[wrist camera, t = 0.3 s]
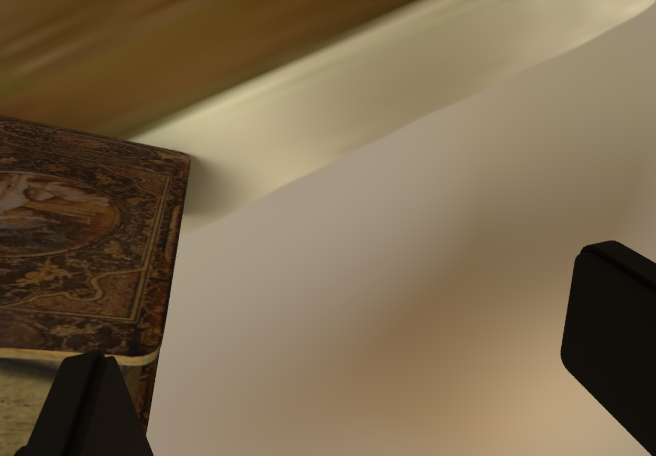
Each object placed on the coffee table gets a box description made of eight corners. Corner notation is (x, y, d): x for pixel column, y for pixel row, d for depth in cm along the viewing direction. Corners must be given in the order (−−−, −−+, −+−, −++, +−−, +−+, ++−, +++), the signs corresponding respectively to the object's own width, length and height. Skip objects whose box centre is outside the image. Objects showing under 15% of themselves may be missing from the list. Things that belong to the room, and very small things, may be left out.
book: (-50, 178, 34) (-514, 480, 12) (-51, 105, 33) (-604, 306, 10) (181, 215, 40) (143, 476, 17) (191, 153, 38) (163, 358, 16)
